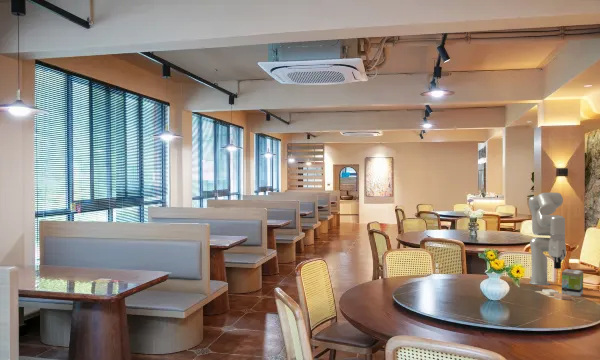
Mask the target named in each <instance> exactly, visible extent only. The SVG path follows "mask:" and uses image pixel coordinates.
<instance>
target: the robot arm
mask: <svg viewBox="0 0 600 360" xmlns="http://www.w3.org/2000/svg"><path fill="white" fill-rule="evenodd" d="M563 202H564V198H563V196H562V194H561V193H559V192H542V193H539V194H538V195H533V196H530V197H529V199H528V207H529V211H530V212H531V213H530V214H531V226H532V227H531V228H532V229H531V230H532V233H533V235H535V236H539V237H532V238H531V239H530V242H529V245H530V251H531V253H530V254H531V276H530V277H529V279H530V280H529V282H528V283H529V284H531V285H534V286H550V285H551V283H550V282H549V281H548V257H547V256H546V254H545V253H547V254H548V255H549V256H550V258H552V259H553V263H554V264H553V268H554V269H557V270H560V269H562V262H563V261H564V260H565V258H566V256H567V247H566V245H567V244H566V218H565V217H563V216H562V215H558V214H557V215H556V214H555V215H554V213H555V212H556V211H557V209H558V208H560V207H561V206H562V205H563ZM541 236H545V237H541ZM546 236H547V237H546Z"/></svg>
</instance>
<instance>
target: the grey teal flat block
mask: <svg viewBox="0 0 600 360" xmlns="http://www.w3.org/2000/svg"><path fill="white" fill-rule="evenodd" d="M542 292H543V293H545V294H548V295H554V294H555V293H560V292H559V291H557V290H554V289H552V288H551V289H547V288H546V289H542Z"/></svg>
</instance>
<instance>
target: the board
mask: <svg viewBox="0 0 600 360" xmlns="http://www.w3.org/2000/svg"><path fill="white" fill-rule="evenodd" d="M534 292H535V293H538V294H541V295H544V296H546V297H549V298H552V299H555V300H557V301H561V300H562V301H563V300H565V301H566V300H567V301H570V300H571V301H574V300H576V299H575V298H573V297H572V299H559V298H556V297H554V295H548V294H545V293H543V292H542V291H541V290H536V291H535V290H534Z"/></svg>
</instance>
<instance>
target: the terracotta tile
mask: <svg viewBox="0 0 600 360" xmlns="http://www.w3.org/2000/svg"><path fill="white" fill-rule="evenodd" d="M554 297H556V298H559V299H572V298H573V297H572V296H571V295H567V294H564V293H562V292H561V293H560V292H559V293H555V294H554Z"/></svg>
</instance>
